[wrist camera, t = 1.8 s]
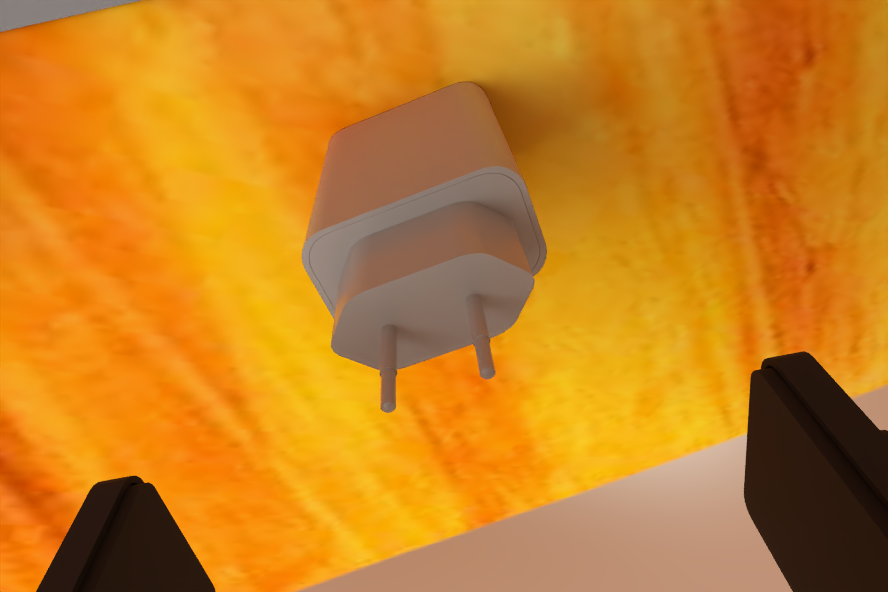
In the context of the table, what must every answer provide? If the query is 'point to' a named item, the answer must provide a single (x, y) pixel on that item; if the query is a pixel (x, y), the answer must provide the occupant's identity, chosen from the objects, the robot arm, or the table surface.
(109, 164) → the table surface
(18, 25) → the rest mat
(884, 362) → the table surface
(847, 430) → the robot arm
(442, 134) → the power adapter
